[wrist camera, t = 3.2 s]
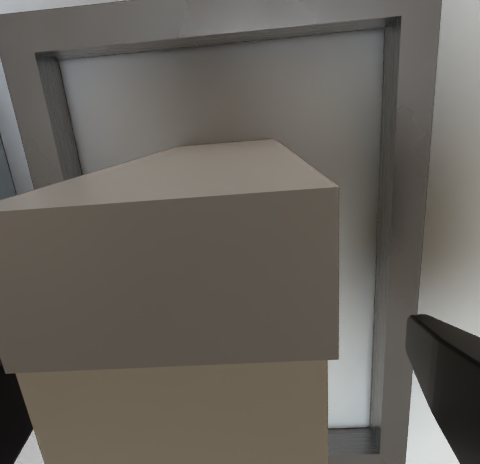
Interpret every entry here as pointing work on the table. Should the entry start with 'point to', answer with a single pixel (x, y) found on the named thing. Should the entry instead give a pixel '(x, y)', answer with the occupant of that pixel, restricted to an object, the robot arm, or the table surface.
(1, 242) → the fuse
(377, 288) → the holder frame
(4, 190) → the tray
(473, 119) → the table surface
